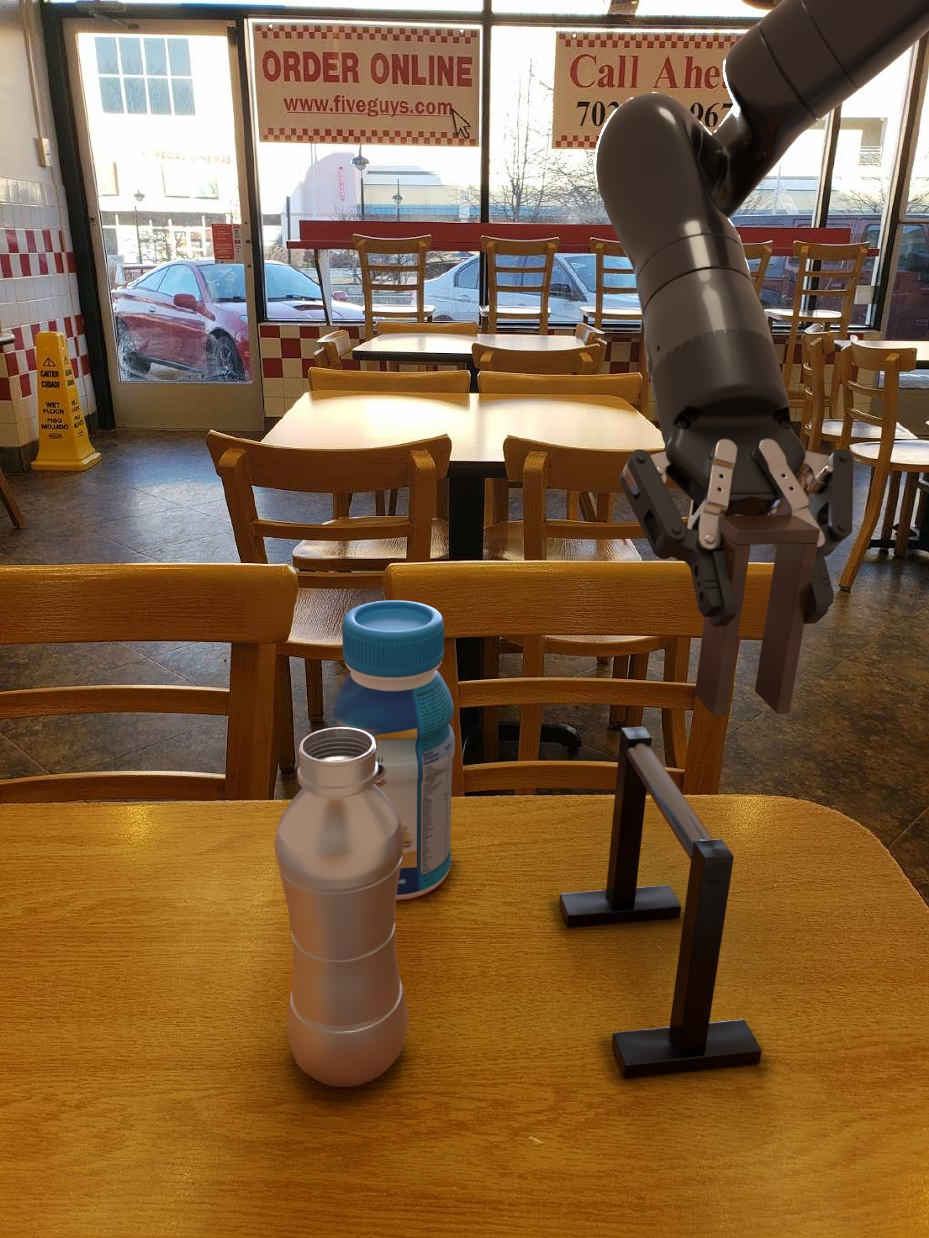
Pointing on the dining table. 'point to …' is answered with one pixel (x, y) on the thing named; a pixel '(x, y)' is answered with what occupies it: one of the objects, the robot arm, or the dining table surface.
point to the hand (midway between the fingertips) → (770, 618)
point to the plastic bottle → (342, 911)
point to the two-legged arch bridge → (782, 610)
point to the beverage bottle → (404, 726)
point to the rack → (704, 915)
